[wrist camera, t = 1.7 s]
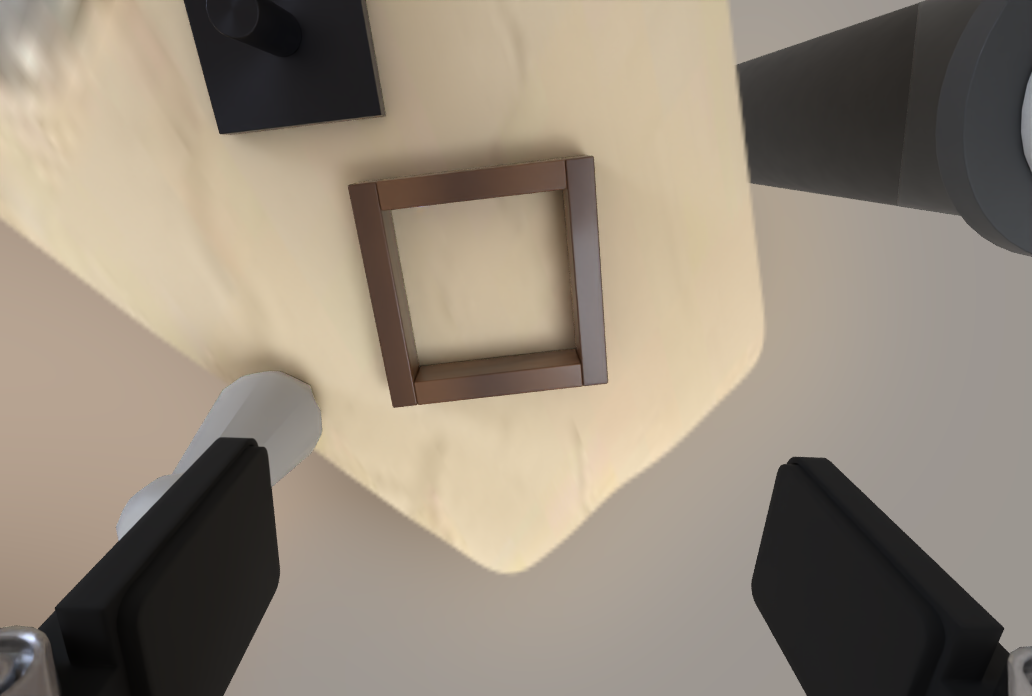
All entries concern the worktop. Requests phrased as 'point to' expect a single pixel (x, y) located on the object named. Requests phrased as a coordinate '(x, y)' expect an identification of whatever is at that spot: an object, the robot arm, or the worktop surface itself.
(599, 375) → the walnut frame
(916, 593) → the robot arm
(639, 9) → the worktop surface
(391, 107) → the worktop surface
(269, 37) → the peg stand
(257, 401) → the salt shaker
